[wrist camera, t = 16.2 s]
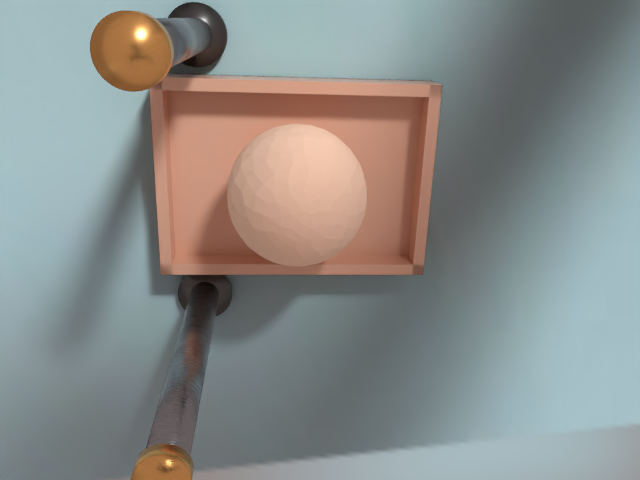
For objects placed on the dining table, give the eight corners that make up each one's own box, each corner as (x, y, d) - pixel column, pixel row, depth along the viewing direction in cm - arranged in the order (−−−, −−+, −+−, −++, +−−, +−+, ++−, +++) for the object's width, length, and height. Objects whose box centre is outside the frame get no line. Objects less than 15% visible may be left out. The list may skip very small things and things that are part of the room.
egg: (377, 197, 33) (407, 250, 25) (271, 254, 34) (272, 322, 26) (319, 89, 31) (334, 112, 23) (207, 152, 31) (188, 195, 24)
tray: (432, 80, 32) (442, 84, 30) (414, 260, 35) (422, 274, 33) (156, 73, 30) (148, 77, 28) (167, 260, 34) (161, 274, 32)
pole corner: (226, 3, 29) (186, -8, 15) (227, 67, 30) (190, 112, 16) (164, 1, 29) (63, -14, 15) (167, 65, 30) (76, 109, 16)
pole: (231, 266, 34) (204, 446, 20) (232, 313, 35) (206, 516, 21) (178, 267, 34) (111, 448, 20) (180, 314, 35) (119, 519, 21)
